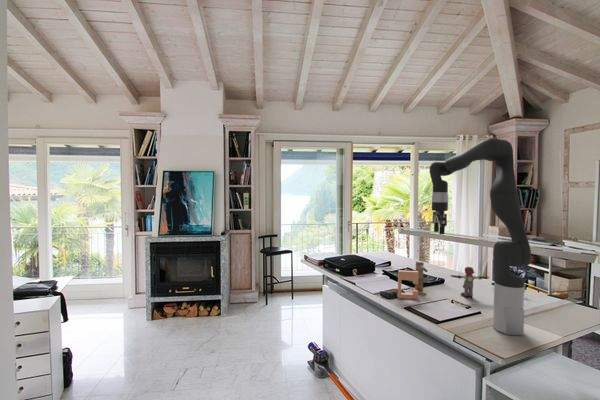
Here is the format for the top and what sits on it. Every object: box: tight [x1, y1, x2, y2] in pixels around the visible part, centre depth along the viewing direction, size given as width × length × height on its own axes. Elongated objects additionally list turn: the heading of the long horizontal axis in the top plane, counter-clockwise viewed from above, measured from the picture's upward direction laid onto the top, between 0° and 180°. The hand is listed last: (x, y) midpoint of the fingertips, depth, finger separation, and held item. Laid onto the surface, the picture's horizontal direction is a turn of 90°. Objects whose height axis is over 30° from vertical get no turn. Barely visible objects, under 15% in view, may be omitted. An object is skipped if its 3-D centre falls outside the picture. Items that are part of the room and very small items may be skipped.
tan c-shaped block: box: [397, 269, 419, 300], centre depth 149 cm, size 2×9×13 cm, turn 83°
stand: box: [411, 260, 428, 296], centre depth 153 cm, size 16×5×16 cm, turn 173°
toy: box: [450, 266, 490, 299], centre depth 151 cm, size 18×6×15 cm, turn 84°
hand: (439, 233), depth 158 cm, fingers open, 8 cm apart
